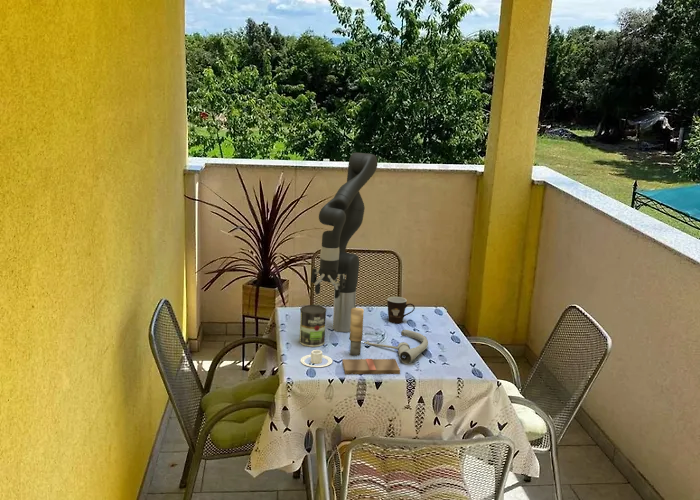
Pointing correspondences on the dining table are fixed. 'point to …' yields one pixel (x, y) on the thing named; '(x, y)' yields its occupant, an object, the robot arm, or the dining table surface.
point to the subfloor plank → (370, 366)
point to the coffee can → (312, 325)
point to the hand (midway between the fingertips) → (327, 295)
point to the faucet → (407, 346)
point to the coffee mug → (397, 309)
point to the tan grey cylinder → (356, 330)
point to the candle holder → (316, 358)
